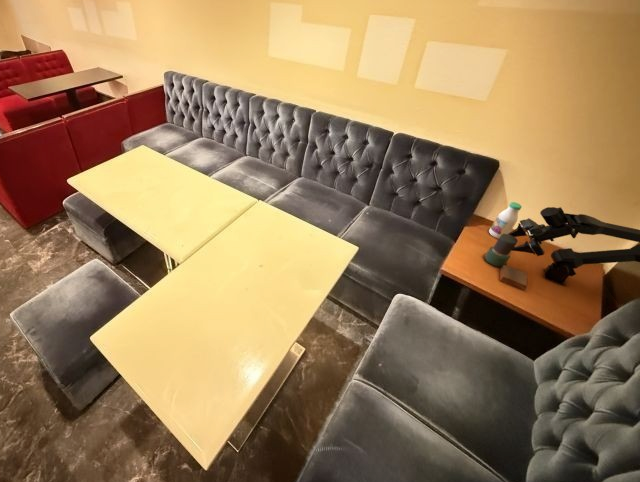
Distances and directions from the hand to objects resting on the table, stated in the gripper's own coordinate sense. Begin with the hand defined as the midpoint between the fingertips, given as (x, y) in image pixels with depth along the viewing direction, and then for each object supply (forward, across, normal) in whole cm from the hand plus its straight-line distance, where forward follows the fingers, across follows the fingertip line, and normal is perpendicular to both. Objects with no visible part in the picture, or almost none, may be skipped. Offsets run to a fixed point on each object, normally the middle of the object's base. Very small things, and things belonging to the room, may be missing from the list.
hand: (508, 242), depth 143 cm
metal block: (+6, +10, +12) cm, 16 cm away
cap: (+4, 0, +3) cm, 5 cm away
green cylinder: (+9, 0, +8) cm, 13 cm away
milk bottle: (+6, -23, +12) cm, 27 cm away
